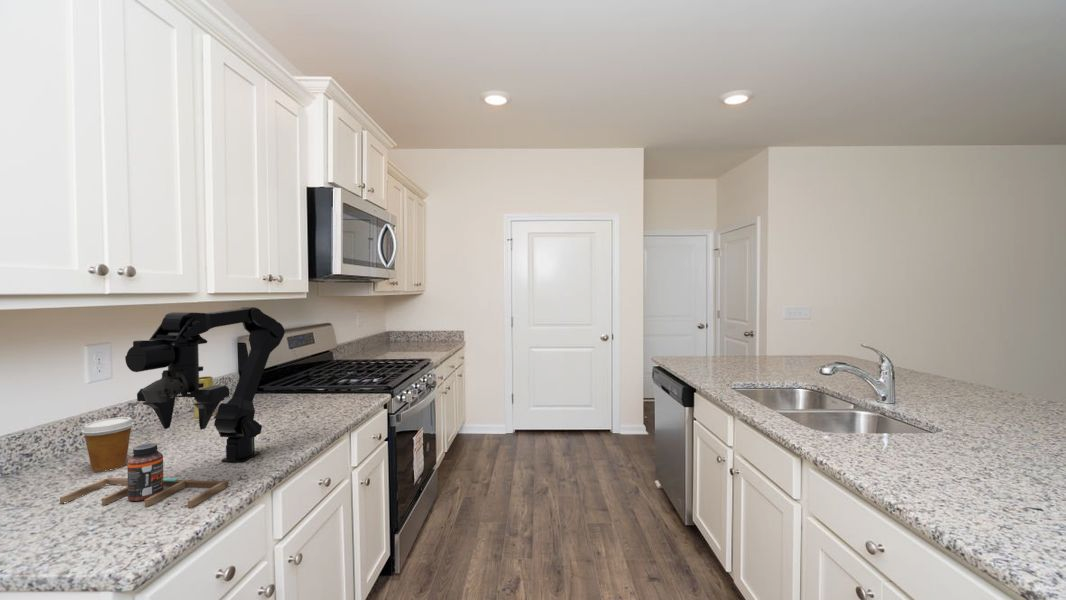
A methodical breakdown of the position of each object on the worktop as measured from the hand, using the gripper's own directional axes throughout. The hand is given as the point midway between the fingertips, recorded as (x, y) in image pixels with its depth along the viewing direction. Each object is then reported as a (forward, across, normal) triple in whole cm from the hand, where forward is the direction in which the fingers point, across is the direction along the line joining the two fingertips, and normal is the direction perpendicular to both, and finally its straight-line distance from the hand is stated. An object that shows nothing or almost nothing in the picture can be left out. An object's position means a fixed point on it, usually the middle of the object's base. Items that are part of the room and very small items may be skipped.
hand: (184, 428), depth 101 cm
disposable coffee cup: (+13, -28, +7) cm, 32 cm away
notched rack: (+13, -3, -7) cm, 15 cm away
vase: (+13, -42, +52) cm, 68 cm away
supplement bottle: (+13, -3, -7) cm, 15 cm away
